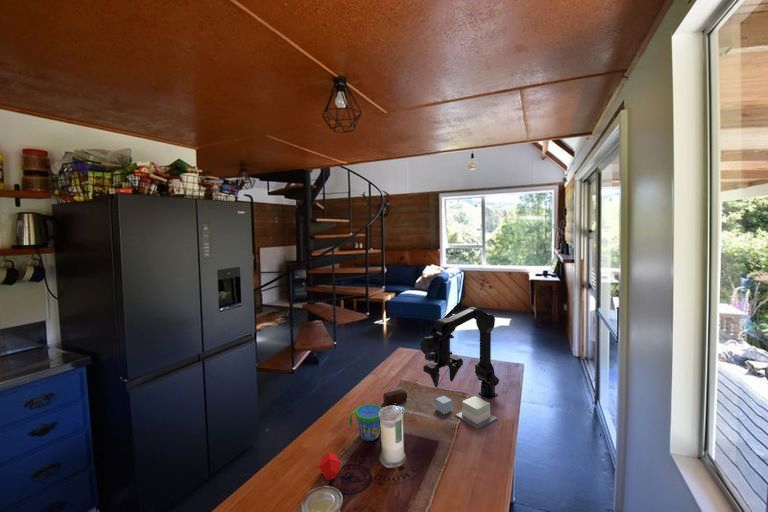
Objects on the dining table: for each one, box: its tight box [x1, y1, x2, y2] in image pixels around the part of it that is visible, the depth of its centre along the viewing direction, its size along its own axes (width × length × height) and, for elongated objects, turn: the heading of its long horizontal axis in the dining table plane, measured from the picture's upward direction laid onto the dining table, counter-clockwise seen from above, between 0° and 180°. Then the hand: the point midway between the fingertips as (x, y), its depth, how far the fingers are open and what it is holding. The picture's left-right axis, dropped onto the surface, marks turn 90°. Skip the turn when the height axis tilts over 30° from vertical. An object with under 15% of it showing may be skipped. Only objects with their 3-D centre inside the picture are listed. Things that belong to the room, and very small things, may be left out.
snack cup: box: [349, 403, 382, 442], centre depth 126 cm, size 16×10×10 cm
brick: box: [383, 388, 408, 406], centre depth 152 cm, size 11×4×5 cm, turn 118°
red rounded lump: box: [318, 451, 341, 481], centre depth 107 cm, size 7×7×8 cm
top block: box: [435, 395, 453, 415], centre depth 143 cm, size 5×5×5 cm
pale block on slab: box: [454, 395, 498, 430], centre depth 137 cm, size 12×12×7 cm
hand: (443, 384), depth 143 cm, fingers open, 9 cm apart
